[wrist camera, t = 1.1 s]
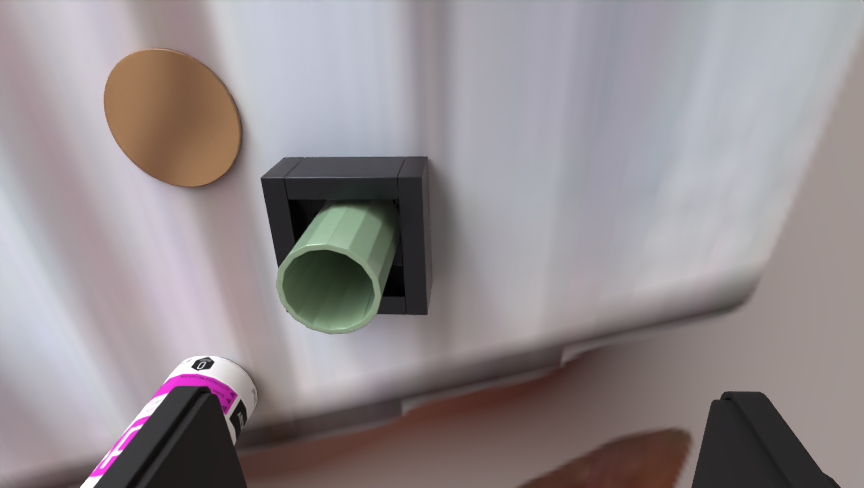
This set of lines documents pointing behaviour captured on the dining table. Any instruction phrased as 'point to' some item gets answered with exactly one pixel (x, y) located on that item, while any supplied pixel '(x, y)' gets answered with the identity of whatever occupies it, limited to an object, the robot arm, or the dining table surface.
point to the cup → (341, 265)
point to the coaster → (172, 117)
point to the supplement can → (195, 371)
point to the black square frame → (359, 180)
